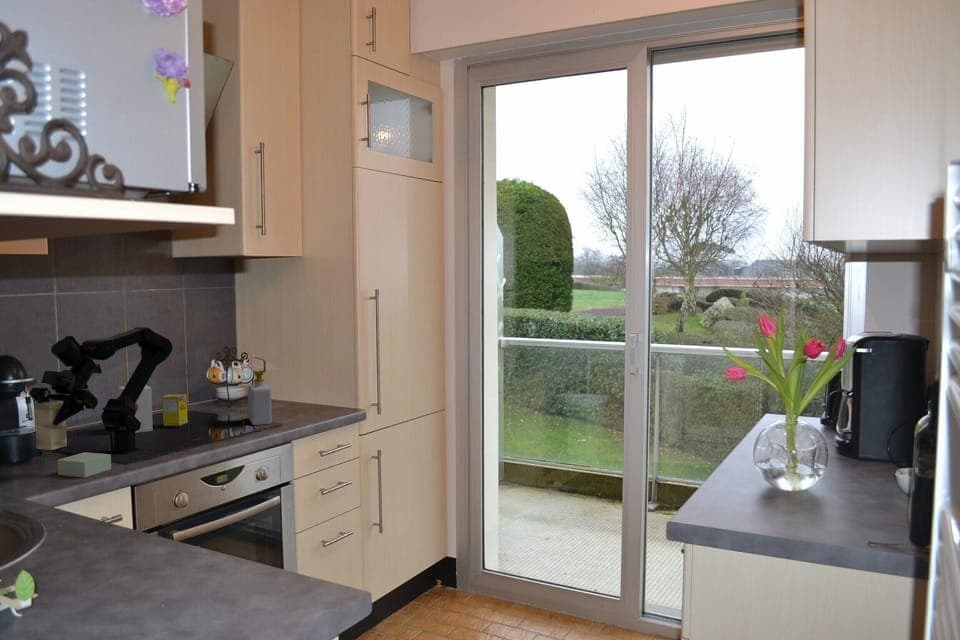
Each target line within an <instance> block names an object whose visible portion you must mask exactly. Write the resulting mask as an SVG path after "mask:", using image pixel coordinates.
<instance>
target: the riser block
mask: <svg viewBox="0 0 960 640" xmlns="http://www.w3.org/2000/svg"><path fill="white" fill-rule="evenodd" d="M109 470H112V454H108V453H98V452H96V453H95V452H88V451H87V452H81V453H77V454H73V455H70V456H67V457H62V458H59V459H57V475H58V476H65V477H75V478H87V477H91V476H95V475H97V474H99V473H103V472H107V471H109Z"/></svg>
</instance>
